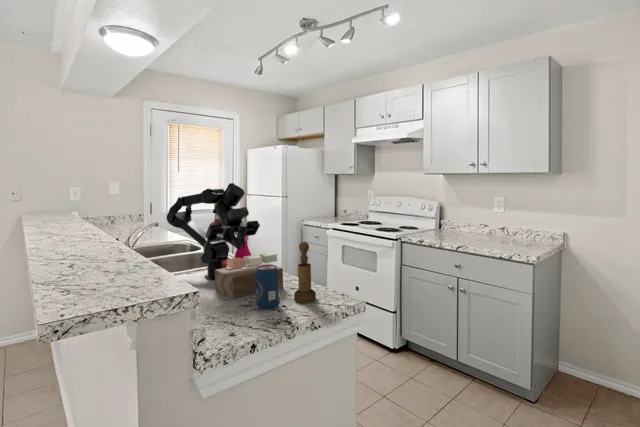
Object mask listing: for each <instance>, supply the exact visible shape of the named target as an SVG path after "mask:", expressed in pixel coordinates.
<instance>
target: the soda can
mask: <svg viewBox="0 0 640 427" xmlns="http://www.w3.org/2000/svg"><path fill="white" fill-rule="evenodd" d="M277 267H278V265H276V264H271V265H261V266H258V267H257V270H256V272H255V289H256V295H255V304H256V307H257V308H258V309H259V310H261V311H273V310H276V309H278V307H279V305H280V303H281V301H280V300H281V297H280V296H281V294H280V293H281V292H280V290H281V289H279V271H278V270H277Z"/></svg>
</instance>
